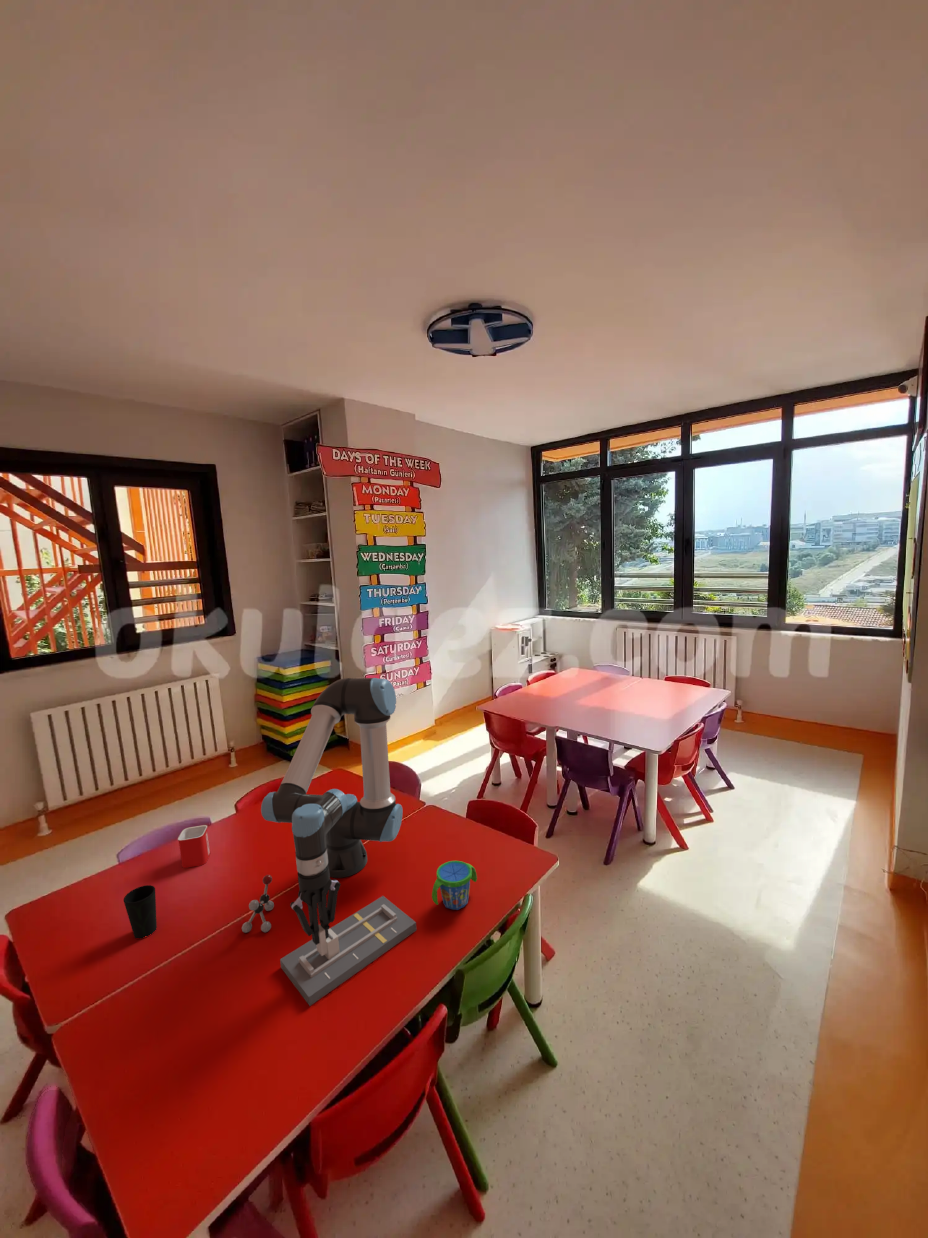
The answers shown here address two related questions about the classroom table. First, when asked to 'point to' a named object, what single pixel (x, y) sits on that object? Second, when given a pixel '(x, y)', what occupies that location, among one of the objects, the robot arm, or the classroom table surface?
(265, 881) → the molecular model
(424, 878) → the classroom table surface
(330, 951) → the fader tab
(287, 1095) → the classroom table surface
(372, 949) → the panel
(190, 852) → the mug
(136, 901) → the cup
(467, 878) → the snack cup
